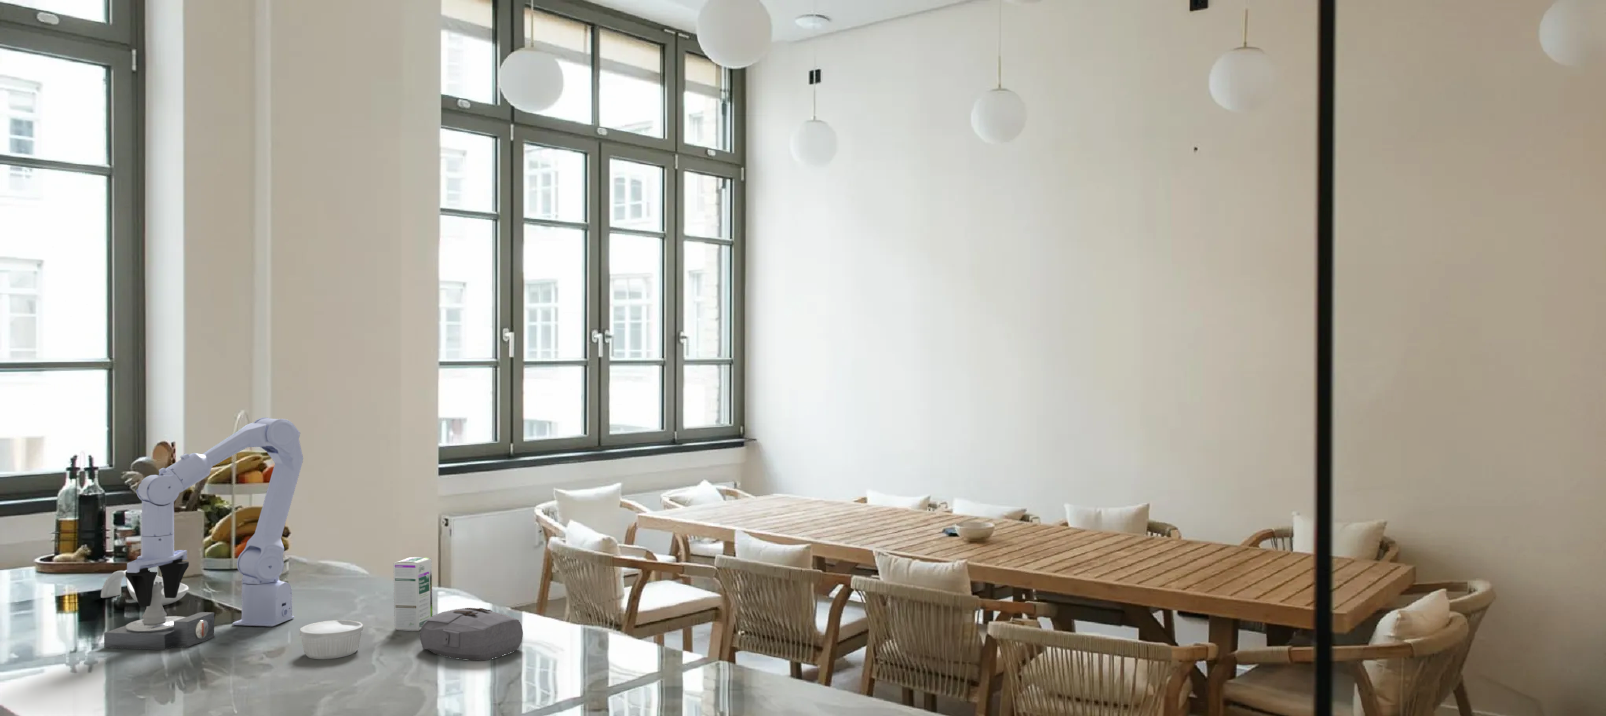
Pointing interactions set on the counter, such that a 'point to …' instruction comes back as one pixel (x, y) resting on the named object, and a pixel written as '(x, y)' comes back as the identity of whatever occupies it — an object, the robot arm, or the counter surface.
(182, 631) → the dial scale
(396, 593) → the syrup box
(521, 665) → the counter surface
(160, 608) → the rook chess piece
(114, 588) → the spoon rest
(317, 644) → the ramekin
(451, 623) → the grey rounded bag
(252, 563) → the robot arm
